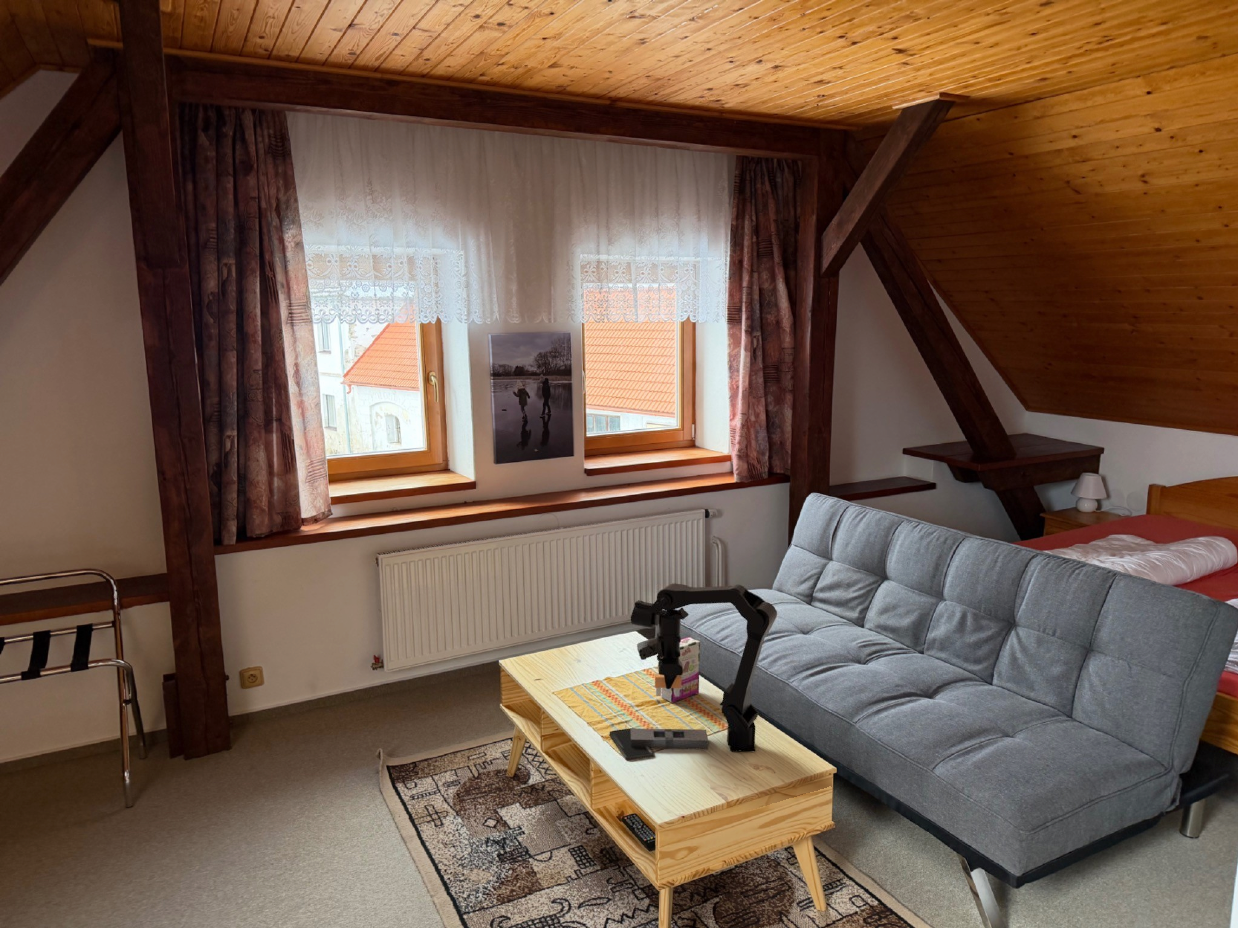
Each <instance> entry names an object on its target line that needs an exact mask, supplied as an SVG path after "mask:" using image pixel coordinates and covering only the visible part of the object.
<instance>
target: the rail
mask: <svg viewBox="0 0 1238 928" xmlns="http://www.w3.org/2000/svg"><path fill="white" fill-rule="evenodd" d="M630 739H631V746H637V747H649V746H650V748H651V749H652V750H656V749H657V750H665V749H666V750H709V738H708V732H707V729H700V728H699V729H698V728H697V729H693V728H691V729H690V728H689V729H687V728H678V729H677V728H636V729H631V730H630Z"/></svg>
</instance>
